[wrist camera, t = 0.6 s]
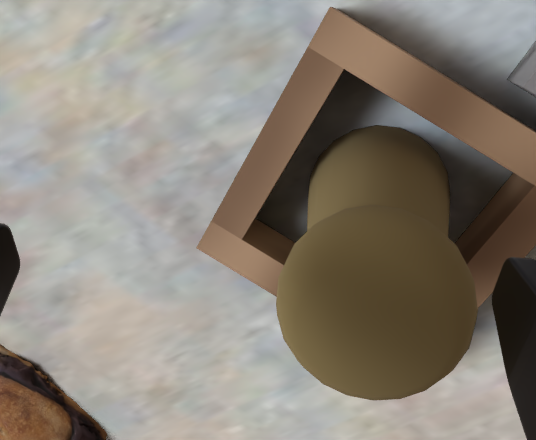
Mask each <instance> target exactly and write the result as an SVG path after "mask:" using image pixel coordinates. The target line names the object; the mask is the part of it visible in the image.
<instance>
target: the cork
mask: <svg viewBox="0 0 536 440" xmlns="http://www.w3.org/2000/svg"><path fill="white" fill-rule="evenodd" d="M449 211H450V187H449V179H448V172H447V170H446V168H445V166H444V164H443V163H442V161H441V159H440V157H439V155H438V153H437V152H436V151H435V150H434V149H433V148H432V147H431V146H430V145H429V144H427V143H426V142H425V141H424V140H423V139H422V138H421V137H419V136H417V135H415V134H412V133H410V132H408V131H406V130H403V129H401V128H397V127H388V126H379V125H375V126H370V127H365V128H360V129H355V130H352V131H351V132H349V133H347V134H345V135H343V136H341V137H340V138H338V139H336V140H334V141H333V142H332V143H331V144H330V145H329V146H328V147H327V149H326V150H325V151H324V152H323V153H322V154H321V155H320V156H319V158H318V160H317V162H316V164H315V166H314V168H313V171H312V173H311V175H310V182H309V192H308V218H307V232H306V233H305V234H304V235H303V236H302V237H301V238H300V239H299V240H298V241H297V242H296V243H295V244H294V245H293V248H292V250H291V252H290V254H289V256H288V258H287V260H286V262H285V264H284V267H283V269H282V271H281V273H280V275H279V278H278V289H277V301H276V307H277V316H278V319H279V323H280V327H281V331H282V334H283V338H284V340H285V342H286V343H287V345H288V346H289V348H290V349H291V351H292V352H293V354H294V355H295V357H296V359H297V360H298V361H299V363H300V364H301V365H302V366H303V367H304V368H305V369H306V370H307V371H308V372H310V373H311V374H312V375H313V376H314V377H316V378H317V379H318V380H319V381H320V382H321V383H323V384H324V385H327V386H329V387H331V388H333V389H335V390H337V391H339V392H341V393H343V394H345V395H349V396H354V397H359V398H364V399H369V400H388V399H401V398H404V397H407V396H410V395H413V394H416V393H419V392H422V391H425V390H427V389H428V388H429V387H431V386H432V385H434V384H435V383H437V382H438V381H439V380H441V379H442V378H444V377H445V376H446V375H448V374H449V373H450V372H451V371H452V370H453V369H454V368H455V367H456V365H457V364H458V362H459V361H460V360H461V358H462V357H463V356H464V354H465V353H466V351H467V350H468V349H469V346H470V342H471V339H472V335H473V331H474V327H475V323H476V318H477V313H478V307H477V299H476V291H475V283H474V279H473V277H472V274H471V272H470V270H469V268H468V266H467V264H466V262H465V260H464V258H463V257H462V255H461V253H460V251H459V249H458V247H457V245H456V244H454V243H453V242H452V241H451V240H450V239H449V238H448V230H449Z"/></svg>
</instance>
